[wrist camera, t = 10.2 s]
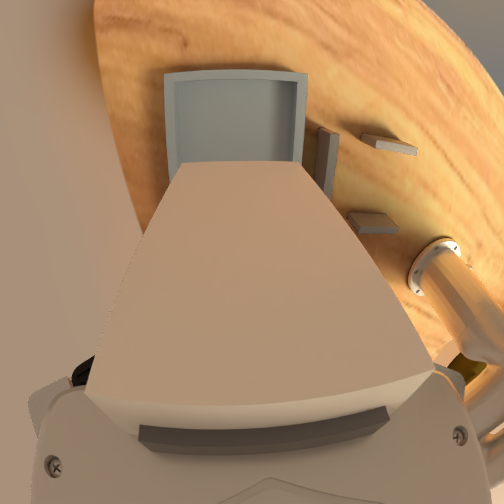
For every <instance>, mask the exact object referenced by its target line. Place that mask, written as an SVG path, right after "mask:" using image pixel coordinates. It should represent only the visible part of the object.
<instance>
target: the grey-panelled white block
mask: <svg viewBox="0 0 504 504" xmlns="http://www.w3.org/2000/svg"><path fill="white" fill-rule="evenodd" d="M435 369H436V367H435V365H434V363H433V361H432V359H431V357H430V355H429V353H428V351H427V350H426V348H425V346H424V344H423V342H422V340H421V338H420V337H419V335H418V333H417V331H416V329H415V327H414V326H413V324H412V322H411V320H410V319H409V317H408V315H407V314H406V312H405V310H404V308H403V307H402V305H401V303H400V302H399V300H398V298H397V297H396V295H395V294H394V292H393V290H392V289H391V287H390V286H389V284H388V282H387V281H386V279H385V278H384V276H383V275H382V273H381V272H380V270H379V269H378V267H377V265H376V264H375V262H374V261H373V260H372V258H371V257H370V255H369V254H368V252H367V251H366V249H365V248H364V246H363V245H362V244H361V242H360V241H359V239H358V238H357V236H356V235H355V234H354V232H353V231H352V230H351V228H350V227H349V225H348V224H347V223H346V221H345V220H344V219H343V217H342V216H341V215H340V213H339V212H338V211H337V209H336V208H335V207H334V205H333V204H332V203H331V202H330V200H329V199H328V198H327V196H326V195H325V194H324V193H323V191H322V190H321V189H320V188H319V186H318V185H317V184H316V183H315V181H314V180H313V179H312V178H311V177H310V175H309V174H308V173H307V172H306V171H305V169H304V168H303V167H302V166H301V165H300V163H299V162H288V161H211V162H189V163H182V164H181V166H180V167H179V169H178V171H177V173H176V174H175V176H174V178H173V180H172V181H171V183H170V185H169V187H168V188H167V190H166V192H165V194H164V196H163V198H162V199H161V201H160V203H159V205H158V207H157V209H156V211H155V213H154V215H153V217H152V219H151V221H150V223H149V225H148V227H147V229H146V231H145V233H144V235H143V237H142V239H141V241H140V243H139V245H138V247H137V250H136V252H135V254H134V256H133V258H132V261H131V263H130V265H129V267H128V270H127V272H126V274H125V277H124V279H123V281H122V284H121V286H120V289H119V291H118V294H117V296H116V298H115V301H114V303H113V306H112V309H111V311H110V314H109V317H108V319H107V322H106V325H105V328H104V331H103V333H102V336H101V339H100V343H99V345H98V348H97V351H96V354H95V357H94V361H93V364H92V367H91V371H90V374H89V377H88V381H87V385H86V388H85V392H84V393H85V394H86V395H87V396H88V397H89V398H90V399H91V400H92V401H93V403H94V404H96V405H97V406H98V407H99V408H100V409H101V410H102V411H103V412H104V413H105V414H106V415H107V416H108V417H109V418H110V419H111V420H112V421H113V422H115V423H116V424H117V425H118V426H119V427H120V428H121V429H123V430H124V431H125V432H126V433H127V434H133V435H138V441H139V442H140V443H141V444H142V445H144V446H145V447H146V448H148V449H149V450H150V451H152V452H161V453H171V454H184V455H208V456H230V455H254V454H267V453H277V452H286V451H294V450H301V449H307V448H313V447H319V446H324V445H329V444H334V443H338V442H343V441H347V440H351V439H355V438H359V437H363V436H367V435H370V434H374V433H375V432H376V431H377V430H379V429H380V428H381V427H382V426H384V425H385V424H386V423H387V422H388V421H390V418H389V415H391V414H392V413H393V412H394V411H395V410H396V409H397V408H398V407H400V406H401V405H402V404H403V403H404V402H405V401H406V400H407V399H408V398H409V397H410V396H411V395H412V394H413V393H414V392H415V391H416V390H417V389H418V388H419V387H420V386H421V384H422V383H423V382H424V381H425V380H426V379H427V378H428V377H429V376H430V375H431V374H432V372H433V371H434V370H435Z"/></svg>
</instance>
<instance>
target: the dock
mask: <svg viewBox="0 0 504 504" xmlns="http://www.w3.org/2000/svg"><path fill="white" fill-rule="evenodd" d="M360 141H362V142H364V143H366V144H368V145H369V146H371V147H373V148H375V149H381V150H387V151H393V152H399V153H404V154H409V155H414V156H416V155H417V149H418V148H416V147H414V146H412V145H410V144H408V143H406V142H403V141H401V140H397V139H392V138H387V137H382V136H376V135H370V134H364V133H361V138H360ZM338 144H339V134H337V133H335V132H333V131H331V130H329V129H326V128H319V131H318V142H317V152H316V162H315V171H314V181H315V183H316V184H317V185H318V186H319V188H320V189H321V190H322V191H323V193H324V194H325V195H326V196H327V198H328V199H329V200H330V202H331V196H332V189H333V183H334V176H335V168H336V161H337V153H338ZM347 219H348V221H349V222H350V223H351V225H352V226H353V227H354V228H355V230H356V231H357V232H358V234H397V232H398V229H399V227H398V226H397V225H396V224H395V223H394V222H393V221H392V220H391V219H390V218H389V217H388V216H387V215H386V214H383V213H358V212H348V217H347Z"/></svg>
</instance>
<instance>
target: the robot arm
mask: <svg viewBox="0 0 504 504" xmlns="http://www.w3.org/2000/svg"><path fill="white" fill-rule="evenodd" d="M460 258H461V251H460V247H459V245H458V244H457V243H456V242H455V241H454V240H453V239H450V238H442V239H439V240H437V241H434V242H433V243H431V244H430V245H428V246H427V247H426V248H425V249H424V250H423V251H422V252H421V253H420V254H419V255H418V257H417V258H416V260H415V261H414V263H413V265H412V267H411V269H410V272H409V275H408V285H409V287H410V289H411V290H412V292H413V293H414V294H416V295H419V296H426V298H427V299H428V301H429V302H430V304H431V305H432V307H433V308H434V310H435V311H436V313H437V314H438V316H439V317H440V319H441V320H442V322H443V323H444V325H445V327H446V328H447V330H448V331H449V333H450V335H451V336H452V338H453V340H454V341H455V343H456V345H457V346H458V348H459V350H460V351H461V353H462V354H463V355H464V356H465V357H466V358H468V359H470V360H473V361H480V362H485V363H486V364H487V367H486V368H485V369H484V370H483V371H482V372H481V374H480V375H479V376H477V377H476V378H475V379H474V380H473V381H472V382H470V383H469V384H468V385H467V386H466V387H465V380H464V378H463V376H462V375H461V374H460V373H458V372H457V371H454V370H451V369H449V368H446V367H443V366H441V365H438V364H435V363H434V365H435V367H436V369H435V370H434V371H433V372H432V374H431V375H430V376H429V377H428V378H427V379H426V380H425V381H424V382H423V383H422V384H421V386H420V387H419V388H418V389H417V390H416V391H415V392H414V393H413V394H412V395H411V396H410V397H409V398H408V399H407V400H406V401H405V402H404V403H403V404H402V405H401V406H400V407H398V408H397V409H396V410H395V411H394V412H393V413H392V414H391V415H389V418H390V421H388V422H387V423H386V424H385V425H384V426H382V427H381V428H380V429H379V430H377V431H376V432H375V433H374V434H370V435H367V436H363V437H359V438H355V439H351V440H347V441H343V442H338V443H334V444H329V445H324V446H319V447H313V448H307V449H301V450H294V451H286V452H277V453H267V454H254V455H230V456H208V455H184V454H171V453H161V452H152V451H150V450H149V449H148V448H146V447H145V446H144V445H142V444H141V443H140V442H139V441H138V435H133V434H127V433H126V432H125V431H124V430H123V429H121V428H120V427H119V426H118V425H117V424H116V423H115V422H113V421H112V420H111V419H110V418H109V417H108V416H107V415H106V414H105V413H104V412H103V411H102V410H101V409H100V408H99V407H98V406H97V405H96V404H94V403H93V401H92V400H91V399H90V398H89V397H88V396H87V395H86V394H85V393H84V392H85V388H86V385H87V381H88V377H89V374H90V371H91V367H92V364H93V361H94V357H95V355H94V356H93V357H91V358H90V359H88V360H86V361H85V362H83V363H82V364H80V365H79V366H78V367H76V369H75V370H74V372H73V374H72V377H70V378H68V377H67V376H66V377H64V378H62V379H60V380H58V381H56V382H54V383H52V384H50V385H48V386H46V387H44V388H42V389H40V390H38V391H36V392H34V393H33V394H32V395H31V397H30V398H29V401H28V407H29V411H30V415H31V419H32V422H33V425H34V429H35V432H36V435H37V438H38V441H37V446H36V452H35V458H34V465H33V473H32V484H31V504H492V500H491V492H490V489H493V488H495V487H497V486H499V485H501V484H503V483H504V428H503V429H502V430H500V431H499V432H498V433H496V434H494V435H492V434H490V433H489V432H491V431H492V430H493V429H495V428H496V427H498V426H499V425H500V424H502V423H503V422H504V310H503V309H502V307H501V306H500V305H499V303H498V302H497V301H496V300H495V298H494V297H493V296H492V295H491V293H490V292H489V291H488V290H487V288H486V287H485V286H484V285H483V284H482V282H481V281H480V280H479V279H478V278H477V276H476V275H475V274H474V273H473V272H472V271H471V270H472V266H471V265H470V264H467V265H466V264H465V263H464V262H463V261H462V260H461V259H460Z"/></svg>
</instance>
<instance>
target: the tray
mask: <svg viewBox="0 0 504 504" xmlns="http://www.w3.org/2000/svg"><path fill="white" fill-rule="evenodd" d="M307 81H308V74H306V73H297V72H286V71H273V70H248V69H225V70H200V71H187V72H176V73H167V74H164V109H165V130H166V146H167V159H168V171H169V182H170V183H171V181H172V180H173V178H174V176H175V174H176V173H177V171H178V169H179V167H180V166H181V164H182V163H189V162H211V161H288V162H299V163H300V165H301V166H302V154H303V142H304V129H305V115H306V99H307Z"/></svg>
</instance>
